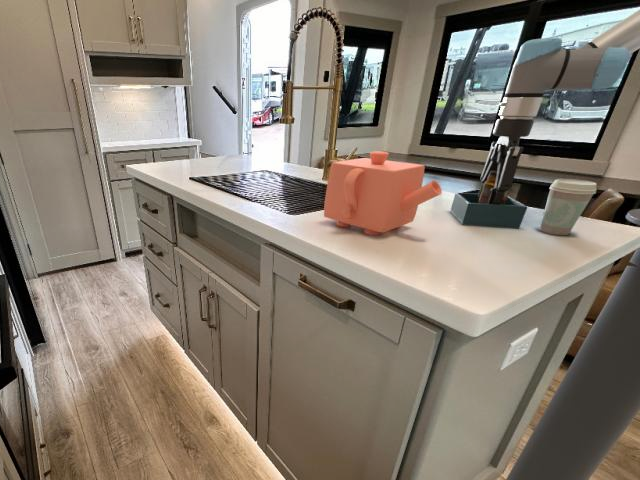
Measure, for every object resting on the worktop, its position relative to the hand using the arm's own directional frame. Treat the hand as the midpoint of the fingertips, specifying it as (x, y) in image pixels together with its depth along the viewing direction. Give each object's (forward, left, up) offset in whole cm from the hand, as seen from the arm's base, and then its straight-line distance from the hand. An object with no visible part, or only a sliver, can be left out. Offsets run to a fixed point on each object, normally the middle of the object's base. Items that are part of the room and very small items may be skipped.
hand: (484, 212), depth 97 cm
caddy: (0, 0, -2) cm, 2 cm away
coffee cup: (-14, +7, -2) cm, 16 cm away
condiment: (0, 0, -2) cm, 2 cm away
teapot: (+28, +16, -2) cm, 32 cm away
